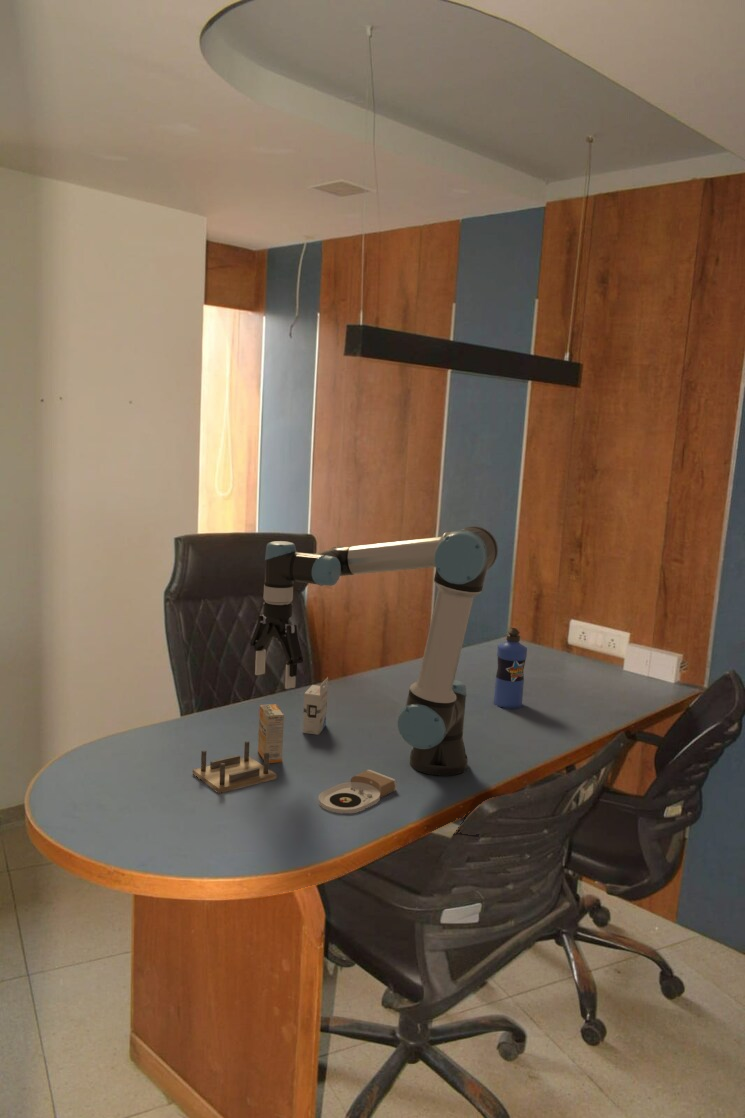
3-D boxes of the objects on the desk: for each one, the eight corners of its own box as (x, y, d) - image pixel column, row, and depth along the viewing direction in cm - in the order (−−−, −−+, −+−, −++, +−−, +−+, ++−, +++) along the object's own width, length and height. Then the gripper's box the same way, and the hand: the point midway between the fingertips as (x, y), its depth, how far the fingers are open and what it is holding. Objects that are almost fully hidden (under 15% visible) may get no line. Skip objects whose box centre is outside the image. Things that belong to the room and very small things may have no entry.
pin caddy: (276, 778, 219) (277, 754, 218) (218, 793, 208) (219, 768, 207) (248, 761, 228) (249, 738, 227) (192, 774, 218) (193, 750, 217)
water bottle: (527, 707, 284) (534, 631, 279) (502, 709, 280) (508, 632, 276) (512, 698, 292) (519, 624, 288) (487, 700, 289) (493, 625, 285)
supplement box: (257, 752, 235) (258, 704, 233) (274, 750, 236) (276, 703, 234) (264, 764, 227) (266, 715, 225) (282, 762, 229) (284, 713, 227)
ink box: (310, 723, 259) (312, 674, 256) (326, 725, 258) (328, 676, 255) (301, 733, 250) (304, 682, 248) (318, 735, 249) (321, 684, 247)
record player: (400, 781, 214) (346, 808, 199) (400, 793, 215) (345, 820, 200) (363, 767, 222) (308, 791, 206) (363, 779, 222) (308, 804, 207)
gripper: (319, 610, 222) (315, 691, 225) (262, 591, 240) (259, 666, 244) (295, 613, 217) (291, 696, 220) (239, 593, 235) (236, 670, 239)
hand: (274, 681), depth 232 cm, fingers open, 13 cm apart
